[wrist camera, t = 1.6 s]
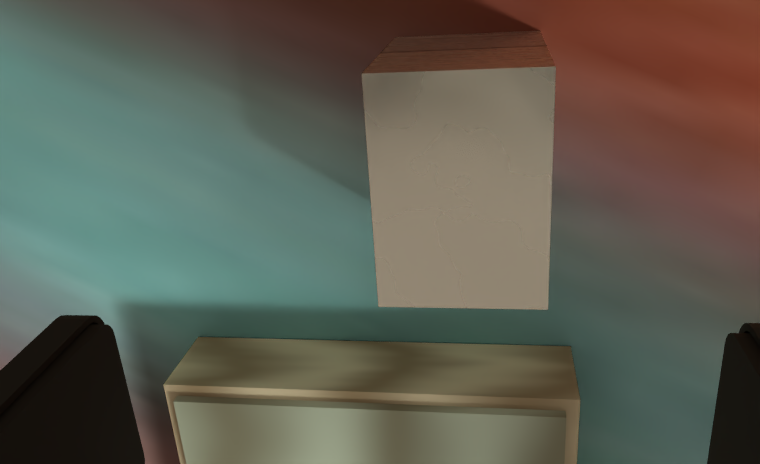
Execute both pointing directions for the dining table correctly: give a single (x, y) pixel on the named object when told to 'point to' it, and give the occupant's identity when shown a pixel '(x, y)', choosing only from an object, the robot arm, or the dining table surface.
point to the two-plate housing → (461, 170)
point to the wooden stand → (373, 403)
